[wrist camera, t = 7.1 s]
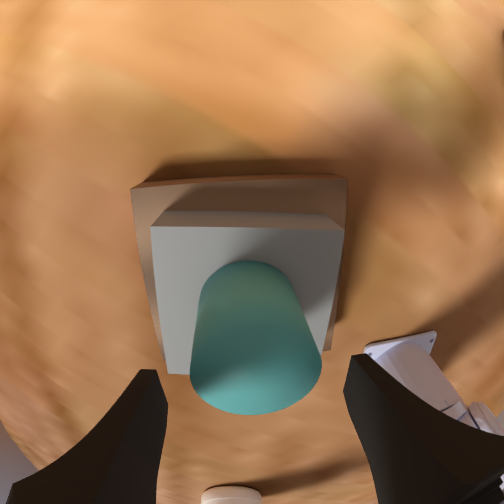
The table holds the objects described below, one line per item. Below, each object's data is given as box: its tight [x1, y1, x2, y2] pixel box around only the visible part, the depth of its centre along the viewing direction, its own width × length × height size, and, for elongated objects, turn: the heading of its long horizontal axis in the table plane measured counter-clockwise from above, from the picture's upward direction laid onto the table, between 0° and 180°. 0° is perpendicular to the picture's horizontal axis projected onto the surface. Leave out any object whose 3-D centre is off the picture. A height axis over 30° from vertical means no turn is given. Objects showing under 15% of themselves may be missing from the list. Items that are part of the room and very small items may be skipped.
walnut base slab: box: [130, 174, 348, 360], centre depth 19 cm, size 12×12×3 cm
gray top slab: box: [150, 211, 345, 375], centre depth 16 cm, size 9×9×3 cm
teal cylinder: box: [190, 260, 322, 415], centre depth 12 cm, size 5×5×5 cm
